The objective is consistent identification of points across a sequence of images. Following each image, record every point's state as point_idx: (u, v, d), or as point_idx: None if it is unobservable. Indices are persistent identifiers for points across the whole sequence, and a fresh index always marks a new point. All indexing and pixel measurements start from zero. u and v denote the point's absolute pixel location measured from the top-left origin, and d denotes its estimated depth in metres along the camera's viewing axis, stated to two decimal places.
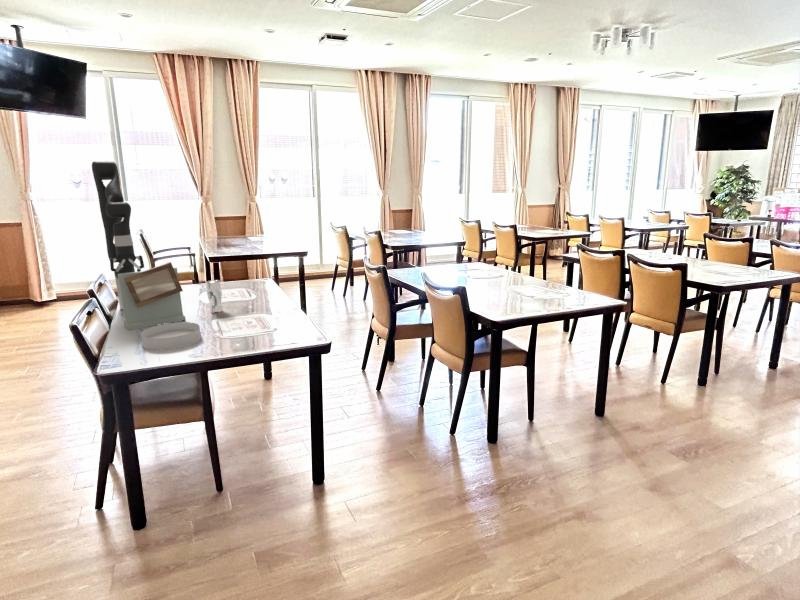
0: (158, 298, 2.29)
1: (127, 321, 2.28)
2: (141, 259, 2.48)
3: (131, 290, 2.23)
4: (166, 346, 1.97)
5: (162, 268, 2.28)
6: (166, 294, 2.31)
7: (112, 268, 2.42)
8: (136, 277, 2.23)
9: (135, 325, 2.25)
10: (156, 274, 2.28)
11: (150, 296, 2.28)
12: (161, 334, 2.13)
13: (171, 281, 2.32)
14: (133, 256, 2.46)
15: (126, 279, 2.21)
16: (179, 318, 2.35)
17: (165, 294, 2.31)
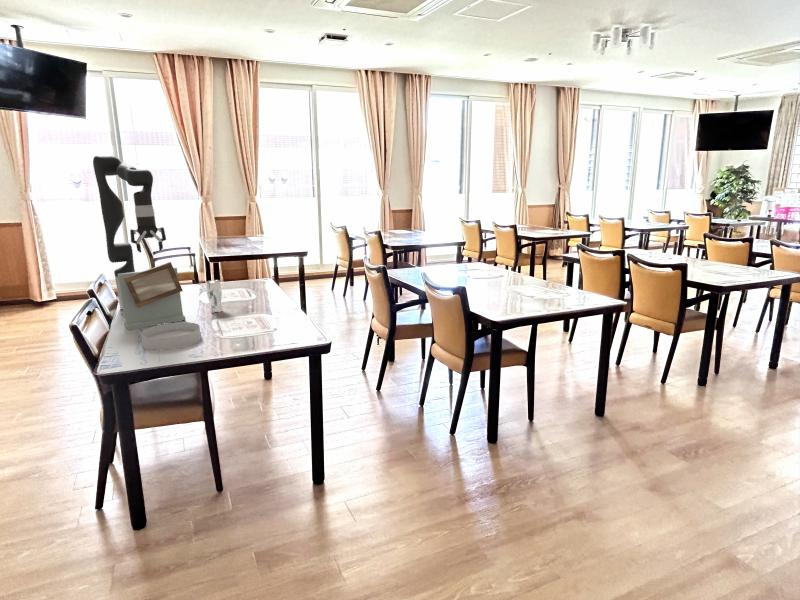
0: (158, 298, 2.29)
1: (127, 321, 2.28)
2: (163, 231, 2.35)
3: (131, 290, 2.23)
4: (166, 346, 1.97)
5: (162, 268, 2.28)
6: (166, 294, 2.31)
7: (133, 240, 2.28)
8: (136, 277, 2.23)
9: (135, 325, 2.25)
10: (156, 274, 2.28)
11: (150, 296, 2.28)
12: (161, 334, 2.13)
13: (171, 281, 2.32)
14: (155, 228, 2.33)
15: (126, 279, 2.21)
16: (179, 318, 2.35)
17: (165, 294, 2.31)
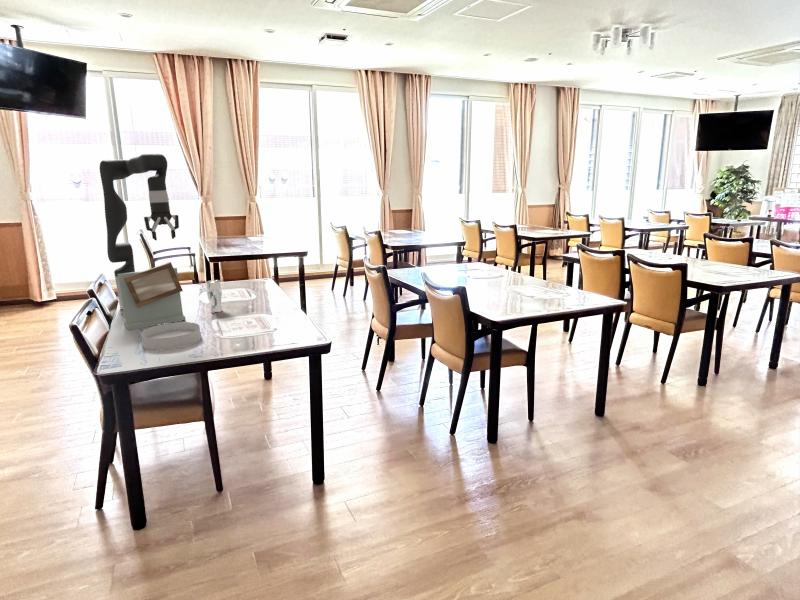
0: (158, 298, 2.29)
1: (127, 321, 2.28)
2: (177, 219, 2.28)
3: (131, 290, 2.23)
4: (166, 346, 1.97)
5: (162, 268, 2.28)
6: (166, 294, 2.31)
7: (148, 227, 2.22)
8: (136, 277, 2.23)
9: (135, 325, 2.25)
10: (156, 274, 2.28)
11: (150, 296, 2.28)
12: (161, 334, 2.13)
13: (171, 281, 2.32)
14: (169, 214, 2.26)
15: (126, 279, 2.21)
16: (179, 318, 2.35)
17: (165, 294, 2.31)
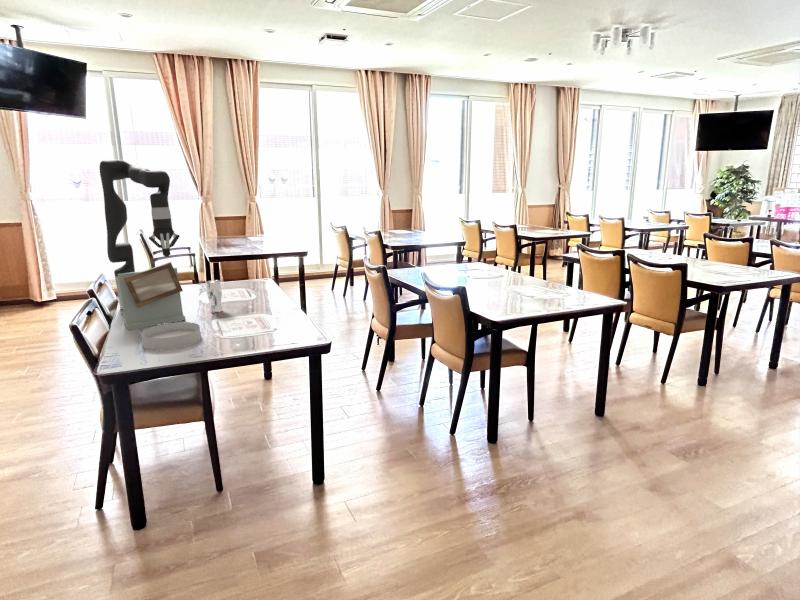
0: (158, 298, 2.29)
1: (127, 321, 2.28)
2: (176, 238, 2.29)
3: (131, 290, 2.23)
4: (166, 346, 1.97)
5: (162, 268, 2.28)
6: (166, 294, 2.31)
7: (159, 244, 2.25)
8: (136, 277, 2.23)
9: (135, 325, 2.25)
10: (156, 274, 2.28)
11: (150, 296, 2.28)
12: (161, 334, 2.13)
13: (171, 281, 2.32)
14: (172, 231, 2.28)
15: (126, 279, 2.21)
16: (179, 318, 2.35)
17: (165, 294, 2.31)
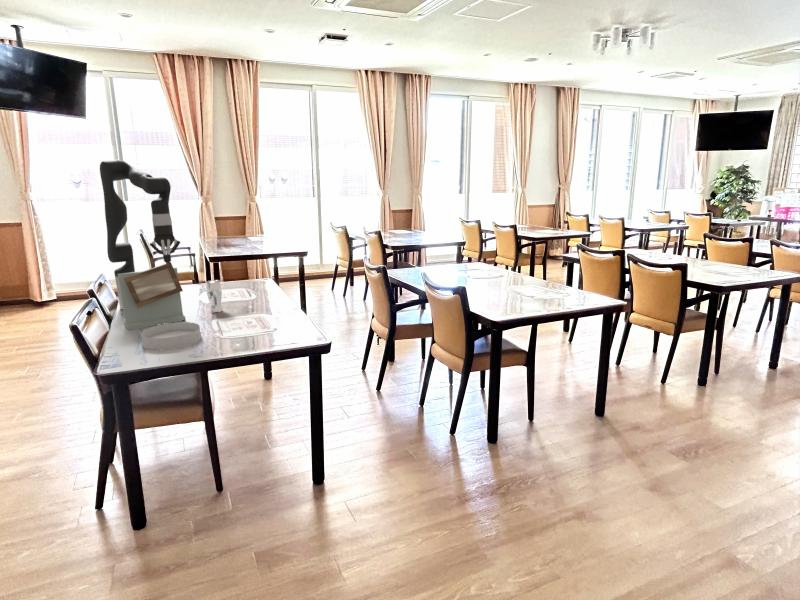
0: (158, 298, 2.29)
1: (127, 321, 2.28)
2: (177, 244, 2.30)
3: (131, 290, 2.23)
4: (166, 346, 1.97)
5: (162, 268, 2.28)
6: (166, 294, 2.31)
7: (160, 251, 2.26)
8: (136, 277, 2.23)
9: (135, 325, 2.25)
10: (156, 274, 2.28)
11: (150, 296, 2.28)
12: (161, 334, 2.13)
13: (171, 281, 2.32)
14: (173, 237, 2.28)
15: (126, 279, 2.21)
16: (179, 318, 2.35)
17: (165, 294, 2.31)
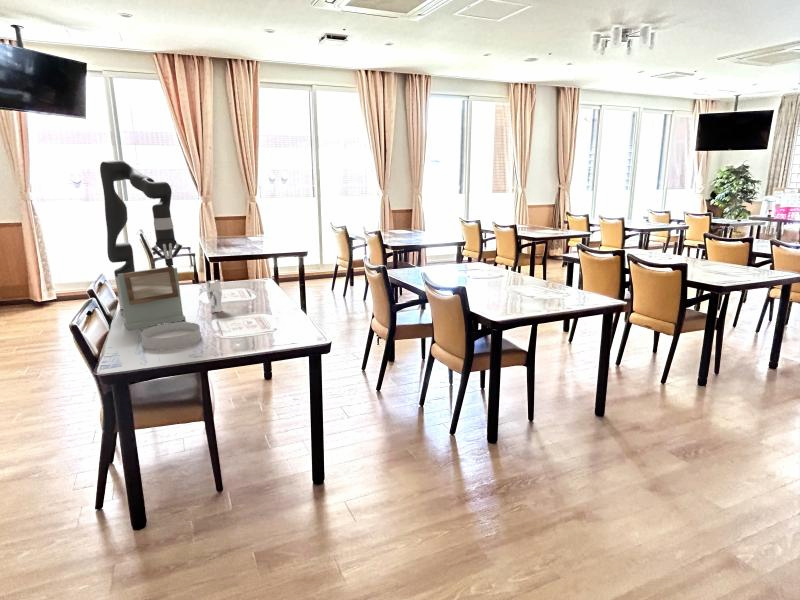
0: (152, 299, 2.28)
1: (127, 321, 2.28)
2: (179, 248, 2.30)
3: (128, 286, 2.22)
4: (166, 346, 1.97)
5: (163, 270, 2.29)
6: (161, 297, 2.30)
7: (162, 255, 2.27)
8: (136, 274, 2.23)
9: (135, 325, 2.25)
10: (156, 275, 2.28)
11: (145, 296, 2.27)
12: (161, 334, 2.13)
13: (169, 285, 2.32)
14: (175, 241, 2.29)
15: (125, 275, 2.20)
16: (179, 318, 2.35)
17: (160, 296, 2.30)
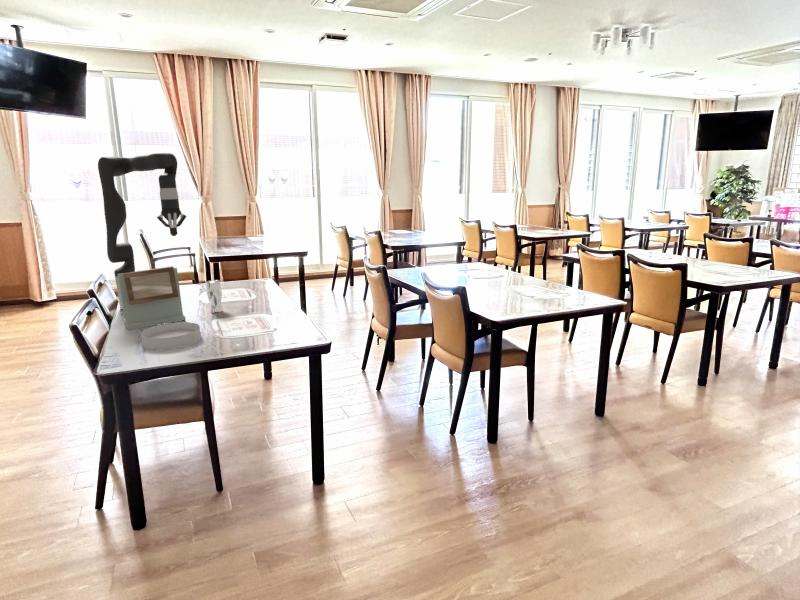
0: (152, 299, 2.28)
1: (127, 321, 2.28)
2: (183, 218, 2.39)
3: (128, 286, 2.22)
4: (166, 346, 1.97)
5: (163, 270, 2.29)
6: (161, 297, 2.30)
7: (166, 224, 2.35)
8: (136, 274, 2.23)
9: (135, 325, 2.25)
10: (156, 275, 2.28)
11: (145, 296, 2.27)
12: (161, 334, 2.13)
13: (169, 285, 2.32)
14: (179, 211, 2.37)
15: (125, 275, 2.20)
16: (179, 318, 2.35)
17: (160, 297, 2.30)
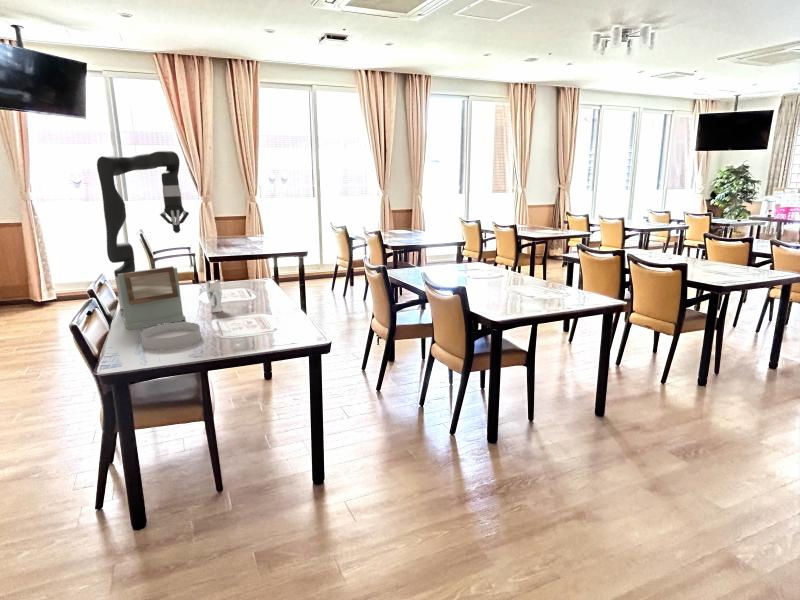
0: (152, 299, 2.28)
1: (127, 321, 2.28)
2: (186, 215, 2.42)
3: (128, 286, 2.22)
4: (166, 346, 1.97)
5: (163, 270, 2.29)
6: (161, 297, 2.30)
7: (170, 221, 2.39)
8: (136, 274, 2.23)
9: (135, 325, 2.25)
10: (156, 275, 2.28)
11: (145, 296, 2.27)
12: (161, 334, 2.13)
13: (169, 285, 2.32)
14: (182, 208, 2.41)
15: (125, 275, 2.20)
16: (179, 318, 2.35)
17: (160, 297, 2.30)
